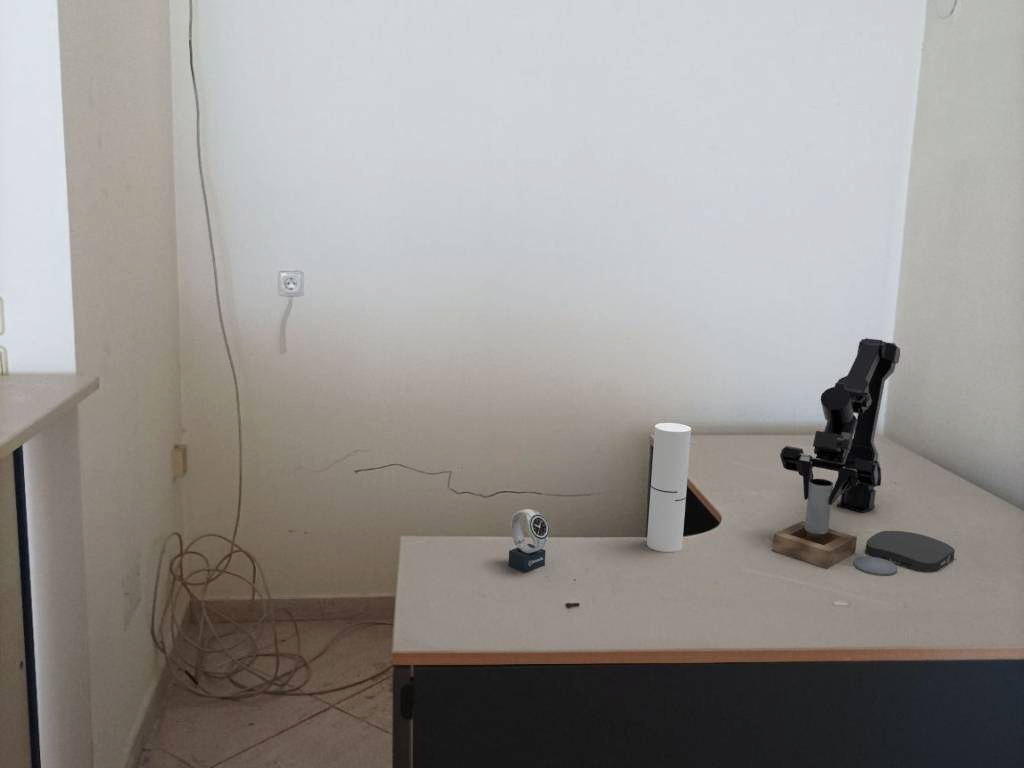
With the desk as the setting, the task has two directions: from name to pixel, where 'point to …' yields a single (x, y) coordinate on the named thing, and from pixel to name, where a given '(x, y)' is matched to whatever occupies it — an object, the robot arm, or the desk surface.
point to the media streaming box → (910, 550)
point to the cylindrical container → (668, 486)
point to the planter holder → (814, 545)
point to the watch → (528, 554)
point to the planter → (818, 506)
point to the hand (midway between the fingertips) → (817, 501)
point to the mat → (875, 566)
